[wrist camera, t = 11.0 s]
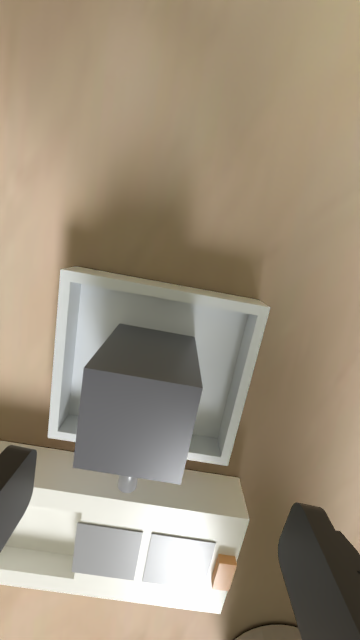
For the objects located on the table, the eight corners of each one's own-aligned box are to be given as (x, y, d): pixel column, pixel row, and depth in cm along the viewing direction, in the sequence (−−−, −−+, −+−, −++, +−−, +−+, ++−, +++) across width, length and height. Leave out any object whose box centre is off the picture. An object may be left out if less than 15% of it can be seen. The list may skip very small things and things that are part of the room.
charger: (194, 336, 19) (202, 388, 12) (175, 427, 20) (173, 518, 14) (119, 323, 18) (83, 367, 12) (106, 416, 20) (68, 502, 13)
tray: (258, 299, 19) (270, 307, 16) (222, 441, 21) (227, 466, 19) (76, 266, 18) (60, 269, 16) (63, 415, 21) (47, 437, 18)
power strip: (239, 477, 22) (251, 528, 18) (214, 562, 24) (221, 624, 20) (-20, 437, 21) (-67, 480, 17) (-21, 529, 23) (-62, 586, 19)
